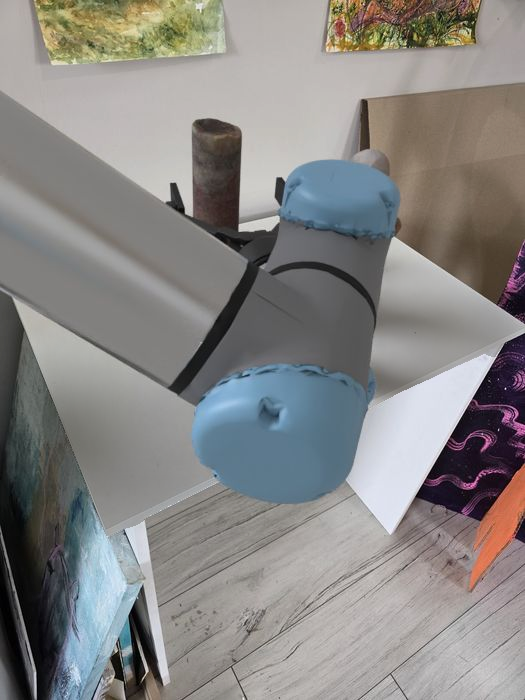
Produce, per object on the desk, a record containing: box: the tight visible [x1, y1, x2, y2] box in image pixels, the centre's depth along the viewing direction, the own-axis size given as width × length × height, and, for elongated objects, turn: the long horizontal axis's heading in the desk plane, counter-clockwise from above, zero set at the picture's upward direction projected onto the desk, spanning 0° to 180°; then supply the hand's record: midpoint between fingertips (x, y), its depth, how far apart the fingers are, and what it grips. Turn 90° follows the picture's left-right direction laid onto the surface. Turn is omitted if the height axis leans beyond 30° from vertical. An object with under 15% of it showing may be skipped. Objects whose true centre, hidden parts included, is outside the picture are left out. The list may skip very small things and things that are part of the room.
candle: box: [191, 117, 243, 242], centre depth 75 cm, size 8×7×20 cm
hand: (227, 189), depth 62 cm, fingers open, 13 cm apart
